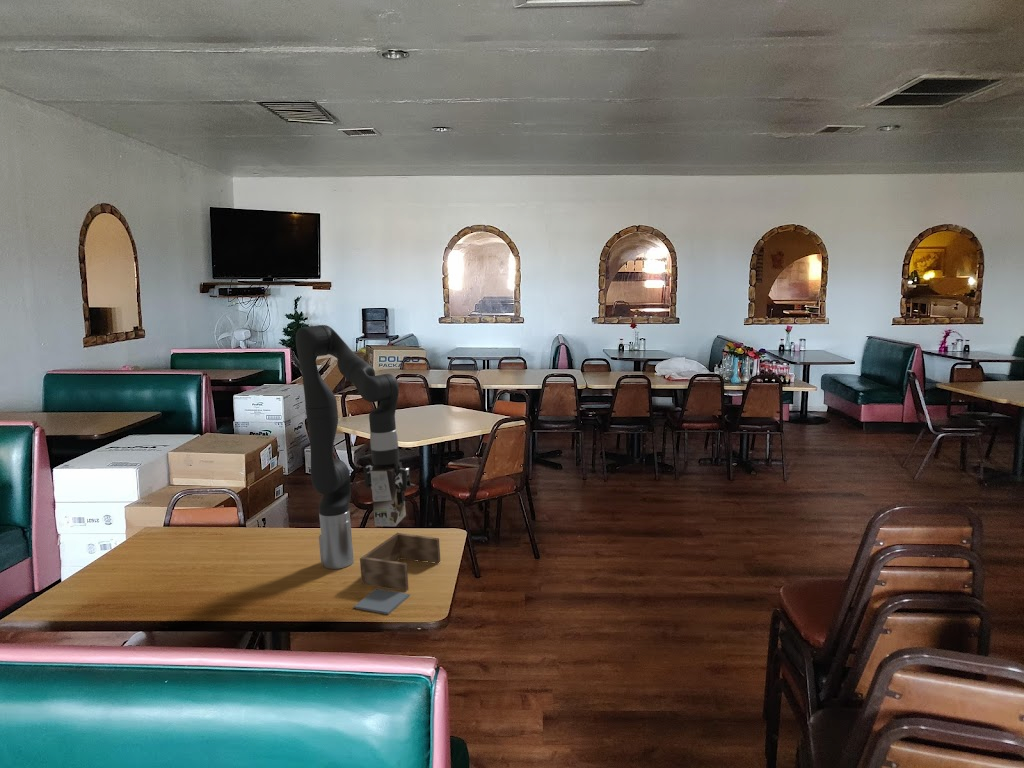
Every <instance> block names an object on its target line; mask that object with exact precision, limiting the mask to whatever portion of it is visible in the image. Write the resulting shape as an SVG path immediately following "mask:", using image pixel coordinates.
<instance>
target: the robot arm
mask: <svg viewBox="0 0 1024 768" xmlns="http://www.w3.org/2000/svg"><path fill="white" fill-rule="evenodd" d="M295 347H296V353H297V359H298V363H299V368H300V373H301V377H302V384H303V385H302V387H303V392H304V402H305V403H304V404H305V405H304V406H305V413H306V420H307V428H308V439H309V448H310V449H309V450H310V480H311V483H312V486H313V489H314V490H315V491H316V492H317V493H318V494H320V495H322V498H321V499H320V502H319V504H318V515H319V526H320V535H318V544H319V555H320V562H321V563H320V565H321V566H324V567H325V568H326V569H329V570H330V569H332V570H336V569H342V568H347V567H348V566H350V565H352V564H353V563H354V562H355V558H354V548H353V546H354V545H353V535H352V525H351V517H350V516H351V513H350V503H351V502H350V501H351V498H352V495H351V494H352V492H351V476H350V475H351V474H350V470H349V468H348V465H347V464H346V462H344V460H341V459H338V458H334V443H335V439H336V434H337V429H338V424H339V410H338V402H337V398H336V395H335V394H334V392H333V390H332V389H331V388H330V386H328V384H327V383H326V382H325V380H324V379H323V378H322V376H321V374H320V372H319V370H318V369H319V368H318V365H317V358H316V357H322V356H323V357H324V356H327V355H330V356H332V357H334V358H336V360H337V363H336V364H337V369H338V371H339V372H340V374H341V375H342V376H343V377H344V378H346V379H347V380H348V381H350V383H352V384H353V385H354V387H355V389H356V390H357V392H358V393H359V395H360V397H361V399H363V400H364V401H366V402H369V403H377V402H380V403H379V405H378V406H377V407H376V408H374V409H373V410H371V411H370V412H369V415H368V420H369V430H370V433H369V434H370V437H369V443H370V452H371V454H370V455H371V463H372V465H371V464H368V465H366V466H364V467H363V468H362V470H363V476H364V478H363V479H364V485H365V487H366V488H370V489H371V490H372V484H371V472H370V471H371V470H372V469H374V468H375V467H389V468H395V474H396V476H397V475H398V474H399V473H401V476H402V479H401V477H400V476H399V480H398V481H396V482H395V484H396V489H397V491H398V492H397V500H398V505H401V504H403V503H404V501H405V502H406V496H405V495H406V493H405V491H407V490H409V489H410V488H411V486H412V485H411V484H412V483H411V481H412V480H411V469H410V467H405V468H404V467H402V468H400V466H399V462H400V451H399V439H398V434H397V426H396V410H397V404H398V399H399V395H400V394H399V393H400V386H399V382H398V380H397V378H396V377H395V376H394V375H393V374H391V373H383V374H379V375H376V371H375V369H374V367H373V366H372V365H371V364H370V363H368V362H367V361H365V360H364V359H363V358H362V357H360V356H358V355H357V354H356V353H355V352H354V351H353V350H352V349H351V348H350V347H349V345H348V344H347V343H346V342H345V340H344V339H343V338H342V337H341V336H340V335H339V334H338V333H337V331H335V330H334V329H333V327H331V326H329V325H326V324H320V325H319V324H318V325H310V326H303V327H300V328H298V329H297V331H296V334H295ZM398 483H399V484H398Z"/></svg>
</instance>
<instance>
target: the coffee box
mask: <svg viewBox="0 0 1024 768" xmlns="http://www.w3.org/2000/svg"><path fill="white" fill-rule="evenodd" d="M402 463H403V462H402V461H399V466H400V468H403V464H402ZM370 472H371V484H372V489H371V492H372V493H371V495H372V505H373V507H372V508H373V519H374V527H396V526H398V524H399V523H400V522H401V521H402V520H403V519H404V518H405V517H406V516H407V512H406V511H407V510H406V500H405V501H404V503H403V504H401V505H398V500H397V492H398V491H397V489H396V484H395V482H396V481H398V480H399V476H400V477H401V479H402V476H401V473H399V474H398V475H397V476H396V474H395V468H389V467H375V468H374V469H372V470H371V471H370ZM398 484H399V483H398Z"/></svg>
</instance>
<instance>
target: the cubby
mask: <svg viewBox="0 0 1024 768" xmlns="http://www.w3.org/2000/svg"><path fill="white" fill-rule="evenodd" d="M440 546H441V545H440V538H439V537H433V536H425V535H424V536H423V535H418V534H417V535H416V534H410V533H408V534H407V533H402V532H396V533H394V534H393V535H392V536H390V537H389V538H387V539H386V540H384V541H383V542H381V543H380V544H379V545H377V546H376V547H374V548H373V549H371V550H370V551H368V552H367V553H366V554H364V555H362V556H361V557H359V563H360V565H359V566H360V576H361V585H366V586H372V587H380V588H386V589H391V590H396V591H397V590H398V591H402V592H403V591H405V592H407V591H409V577H408V576H409V575H408V563H407V562H400V561H399V560H400V559H401V558H402V559H403V560H408V559H410V561H415V560H418V561H417V562H422V561H428V562H427V563H429V562H435V563H434V564H436V563H439V562H440V561H441V549H440V548H441V547H440ZM398 559H399V560H398ZM402 559H401V560H402ZM440 563H441V562H440ZM440 563H439V564H440Z"/></svg>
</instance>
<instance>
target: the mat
mask: <svg viewBox="0 0 1024 768" xmlns="http://www.w3.org/2000/svg"><path fill="white" fill-rule="evenodd" d="M410 596H411V594H410V593H405V592H399V591H392V590H388V589H382V588H375V589H374V590H373V591H371V592H370V593H369V594H367V595H366V596H365V597H363V598H362V599H361V600H360V601H358V602H357V603H356V604H355V605H354V606H353V609H355V608H356V609H355V610H357V609H358V610H362V611H367V612H373V613H378V614H384V615H389V614H391V613H392V612H393V611H394V610H395V609H397V608H398V606H400V605H401V604H403V602H404V601H406V600H407V599H408V598H409V597H410Z"/></svg>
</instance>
